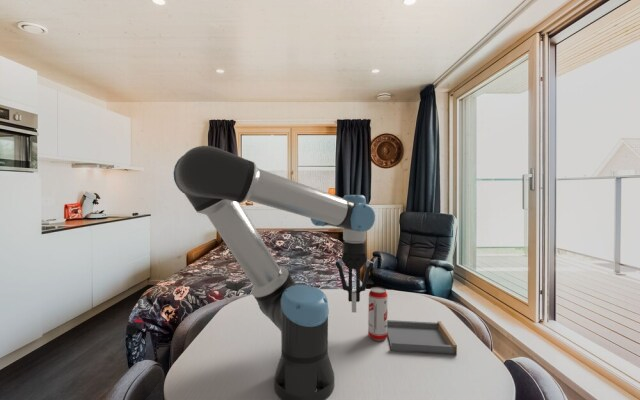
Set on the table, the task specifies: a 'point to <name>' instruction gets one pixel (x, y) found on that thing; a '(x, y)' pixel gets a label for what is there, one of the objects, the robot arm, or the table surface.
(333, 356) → the table surface
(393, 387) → the table surface
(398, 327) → the tray
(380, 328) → the beer can
